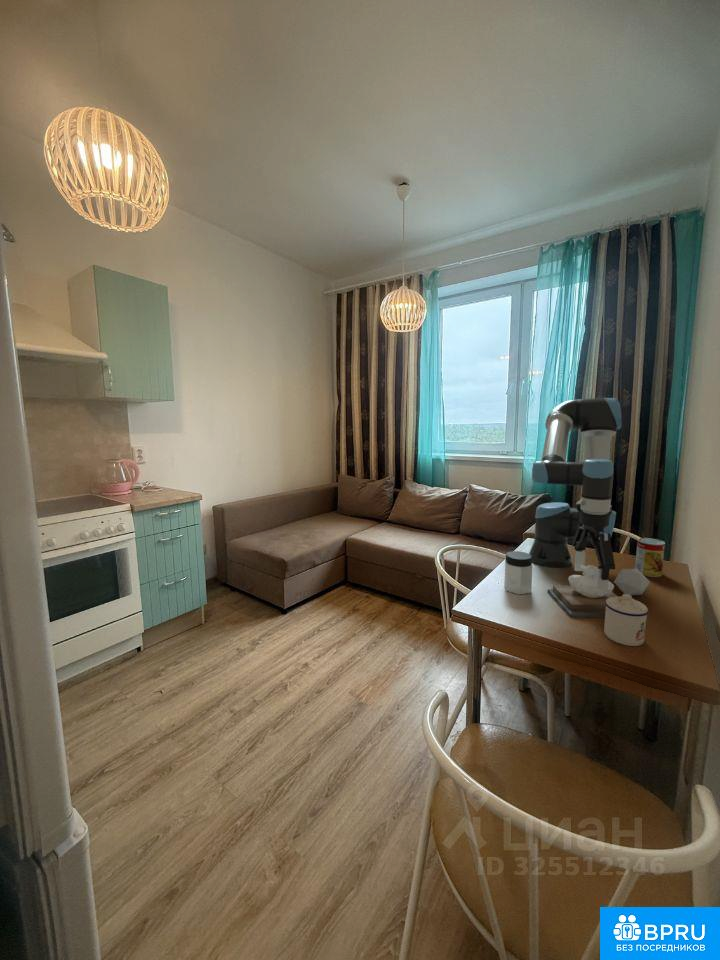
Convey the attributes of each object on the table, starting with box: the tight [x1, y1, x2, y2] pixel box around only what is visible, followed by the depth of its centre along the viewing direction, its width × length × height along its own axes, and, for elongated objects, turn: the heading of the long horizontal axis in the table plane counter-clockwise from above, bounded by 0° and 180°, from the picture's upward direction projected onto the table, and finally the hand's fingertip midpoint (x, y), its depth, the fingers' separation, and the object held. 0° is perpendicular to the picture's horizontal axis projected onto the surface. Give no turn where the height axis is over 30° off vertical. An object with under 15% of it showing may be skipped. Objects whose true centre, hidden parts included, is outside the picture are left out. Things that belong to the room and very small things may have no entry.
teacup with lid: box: [603, 593, 649, 647], centre depth 100 cm, size 12×9×12 cm
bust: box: [567, 563, 615, 598], centre depth 115 cm, size 12×8×11 cm
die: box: [613, 568, 650, 596], centre depth 123 cm, size 8×9×10 cm
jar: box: [503, 550, 533, 595], centre depth 128 cm, size 9×8×12 cm
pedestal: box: [547, 584, 619, 618], centre depth 117 cm, size 16×18×3 cm
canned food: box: [634, 537, 666, 578], centre depth 138 cm, size 8×8×12 cm
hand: (590, 579), depth 117 cm, fingers open, 13 cm apart
